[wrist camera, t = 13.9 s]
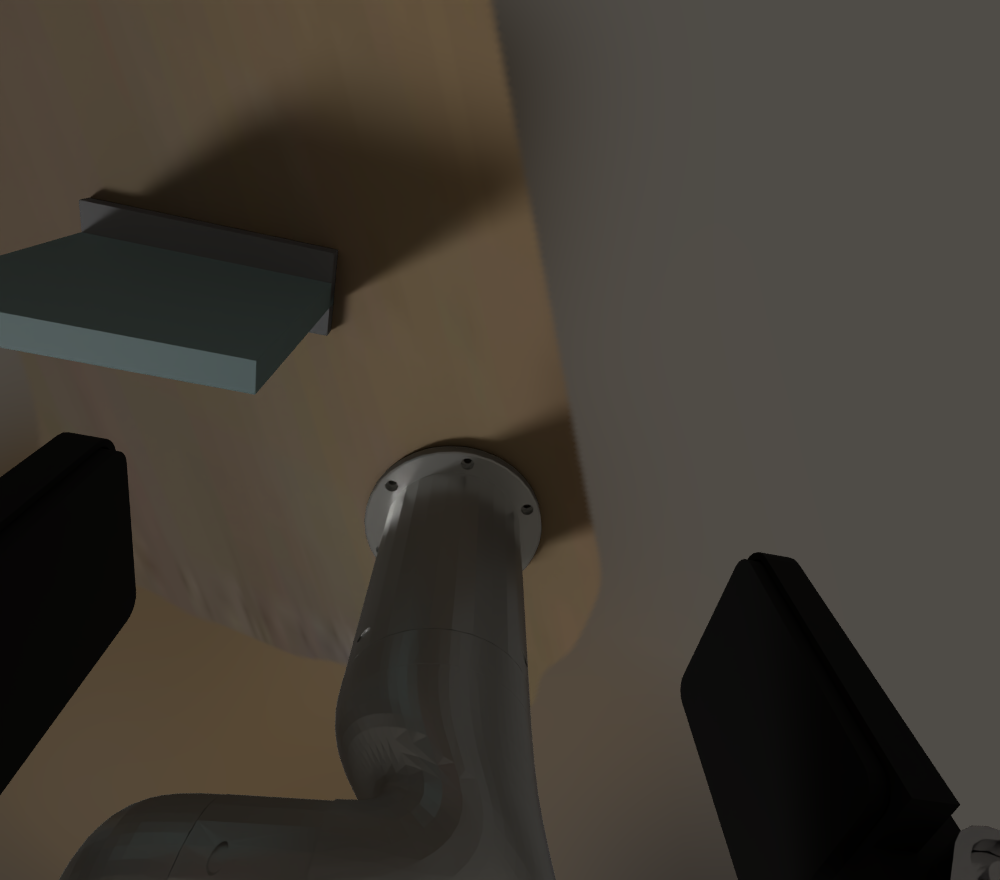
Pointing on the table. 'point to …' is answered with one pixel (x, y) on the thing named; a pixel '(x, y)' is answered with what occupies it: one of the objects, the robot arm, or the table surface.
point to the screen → (167, 297)
